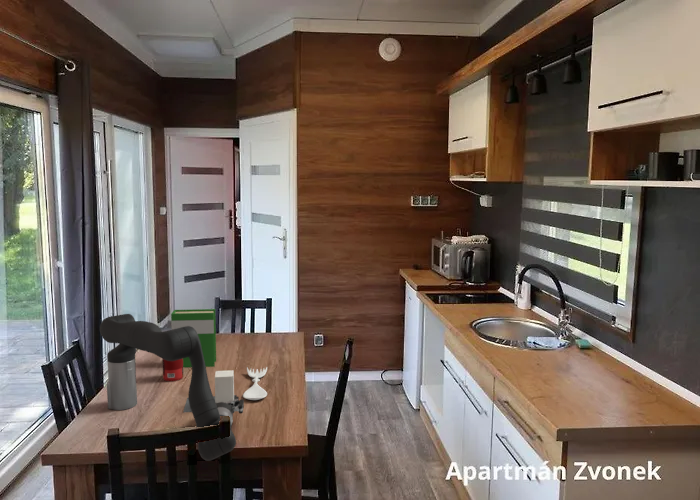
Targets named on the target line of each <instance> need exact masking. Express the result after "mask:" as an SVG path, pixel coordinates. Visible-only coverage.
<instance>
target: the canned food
mask: <svg viewBox="0 0 700 500" xmlns="http://www.w3.org/2000/svg"><path fill="white" fill-rule="evenodd" d="M161 359H162V358H161ZM162 378H163V380H164V381H166V382H176V381H177V382H178V381H180V380H182V379H183V378H184V368H183V359H179V360H176V361H167V360H164V359H162Z"/></svg>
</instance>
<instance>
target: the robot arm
mask: <svg viewBox="0 0 700 500" xmlns="http://www.w3.org/2000/svg"><path fill="white" fill-rule="evenodd" d="M99 333H100V335H101V337H102V339H103V340H104V341H105V342H107V343H109V344H117V346H115V347H114V348H112V349H111V350H109V351H108V352H107V355H106V356H107V357H106V358H107V360H106V361H107V379H108V381H107V383H106V392H107V393H106V394H107V396H106V397H107V409H108V410H109V409H110V410H114V411H123V410H129V409H131V408H133V407H135V406H137V405H138V392H137V390H138V389H137V368H136V367H137V366H136V352H137V350H139V351H144V352H147V353H150V354H153V355H155V356H157V357H159V358H160V359H164V360H167V361H176V360H179V359H183V358H186V357H189V359H190V362H191V365H192V367H191V378H190V384H189V388H188V393H187V394H188V397H187V398H188V399H189V405H190V408H191V411H192V412H191V413H192V416H193V419H194V421H195V422H194V423H195V427H196V428H197V427H204V426H210V425H218V424H219V421H220V416H229V417H230V436H229V437H225V438H223V439H221V438H217V439H215V440H210V441H205V442H199V443H198V442H197V449H198V453H199V455H200V457H201V458H202V459H203V460H205V461H206V462H211V461H213V460H215V459H217V458H219V457H221V456H223V455H226V454H229V453H230V452H232V451H233V450H234V449H235V447H236V444H237V439H236V437H235V434H234V432H233V431H232V425H233V422H234V421H233V414H234V413H235V412H238V414H243V413H244V407H245V401H244V400H245V399H243V398H241V399H240V398H239V396H237V394H234V395H235V397H234V400H230V401H228V402H225V403H224V402H219V403H216V402H215V400H214V397H213V396H214V394H213V392H212V388H211V386H210V382H209V377H208V376H209V375H208V372H207V367H206V366H205V361H204V356H203V352H202V347H201V343H200V339H199V336H198V334H197V332H196V330H195V329H194V328H193V327H191V326H185V327H181V328H177V329H173V330H172V329H169V330H165V331H162V329H161V327H160V326H159V325H158V324H157V323H156V324H155V323H154V322H151V321H144V320H135V318H134V316H133V315H132V314H131V313H124V314H123V313H122V314H119V315H118V314H117V315H112V316H108V317H106V318H104V319H102V321H101V322H100V324H99ZM239 399H240V400H239Z"/></svg>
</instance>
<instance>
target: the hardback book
mask: <svg viewBox="0 0 700 500" xmlns="http://www.w3.org/2000/svg"><path fill="white" fill-rule="evenodd" d="M170 319H171V320H170V323H171V326H170V327H171V330H173V329H177V328H181V327H185V326H191V327H193V328H194V329H195V330H196V332H197V334H198V336H199V339H200V343H201V347H202V352H203V356H204V361H205V366H206V368H215V366H216V365H215V363H216V362H217V333H216V332H217V331H216V330H217V329H216V322H217V321H216V308H202V309H201V308H200V309H198V308H194V309H174V310H172V312H171V314H170ZM186 368H192V365H191V362H190V359H189V357H186V358H183V369H186Z"/></svg>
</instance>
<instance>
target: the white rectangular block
mask: <svg viewBox="0 0 700 500" xmlns="http://www.w3.org/2000/svg"><path fill="white" fill-rule="evenodd" d="M214 374H215V375H214V396H215V402H216V403H219V402H224V403H225V402H228V401H230V400H234V395H235V381H234V380H235V375H234V374H235V373H234V369H233V370H228V369H227V370H215V373H214Z"/></svg>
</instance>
